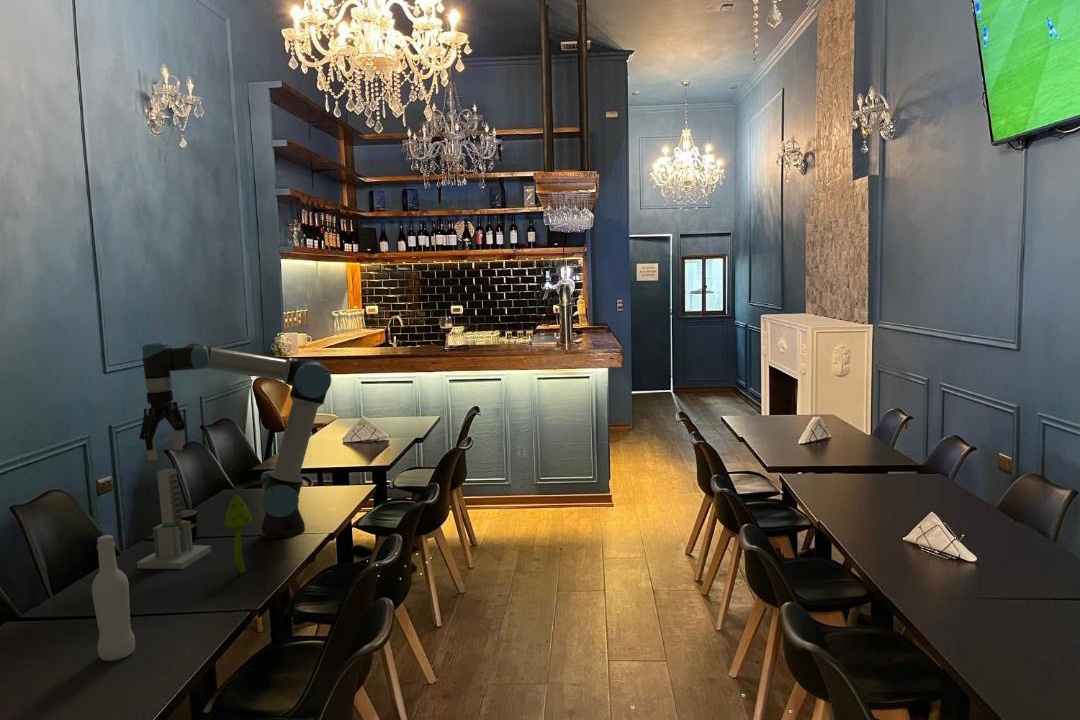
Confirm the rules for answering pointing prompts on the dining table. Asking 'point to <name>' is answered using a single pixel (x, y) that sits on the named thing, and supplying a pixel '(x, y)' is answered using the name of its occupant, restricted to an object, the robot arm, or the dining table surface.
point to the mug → (191, 521)
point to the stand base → (173, 548)
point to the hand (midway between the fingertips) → (165, 454)
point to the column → (169, 498)
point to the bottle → (112, 605)
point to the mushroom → (238, 526)
